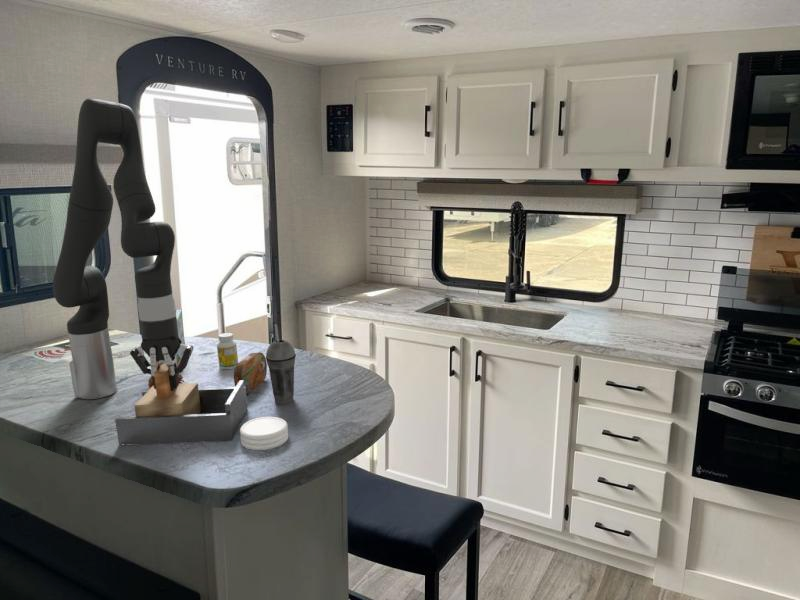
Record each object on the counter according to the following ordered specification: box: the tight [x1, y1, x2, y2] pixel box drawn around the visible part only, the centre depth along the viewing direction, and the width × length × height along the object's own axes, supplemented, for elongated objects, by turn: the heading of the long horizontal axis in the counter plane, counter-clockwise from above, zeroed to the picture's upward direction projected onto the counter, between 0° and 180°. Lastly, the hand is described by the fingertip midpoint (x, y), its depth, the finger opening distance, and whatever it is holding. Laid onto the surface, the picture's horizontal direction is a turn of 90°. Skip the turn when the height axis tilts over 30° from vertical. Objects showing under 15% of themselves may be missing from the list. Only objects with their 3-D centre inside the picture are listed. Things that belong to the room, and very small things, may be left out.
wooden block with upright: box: [133, 364, 201, 417], centre depth 137 cm, size 10×12×13 cm
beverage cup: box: [265, 323, 297, 405], centre depth 150 cm, size 7×7×20 cm
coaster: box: [239, 416, 289, 451], centre depth 132 cm, size 10×10×4 cm
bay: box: [114, 380, 248, 446], centre depth 138 cm, size 24×16×8 cm, turn 92°
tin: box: [233, 351, 268, 395], centre depth 161 cm, size 15×3×8 cm, turn 168°
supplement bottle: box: [216, 332, 239, 370], centre depth 177 cm, size 5×5×10 cm
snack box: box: [160, 309, 186, 375], centre depth 177 cm, size 21×6×15 cm, turn 14°
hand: (167, 389), depth 137 cm, fingers closed on wooden block with upright, 2 cm apart
